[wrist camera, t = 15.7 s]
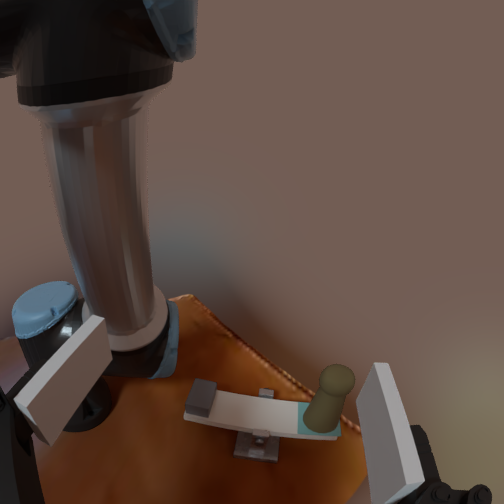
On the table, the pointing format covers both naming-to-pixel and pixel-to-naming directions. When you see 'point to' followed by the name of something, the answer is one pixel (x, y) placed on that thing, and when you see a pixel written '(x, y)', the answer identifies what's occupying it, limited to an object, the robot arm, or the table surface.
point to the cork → (329, 399)
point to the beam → (249, 413)
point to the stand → (258, 441)
